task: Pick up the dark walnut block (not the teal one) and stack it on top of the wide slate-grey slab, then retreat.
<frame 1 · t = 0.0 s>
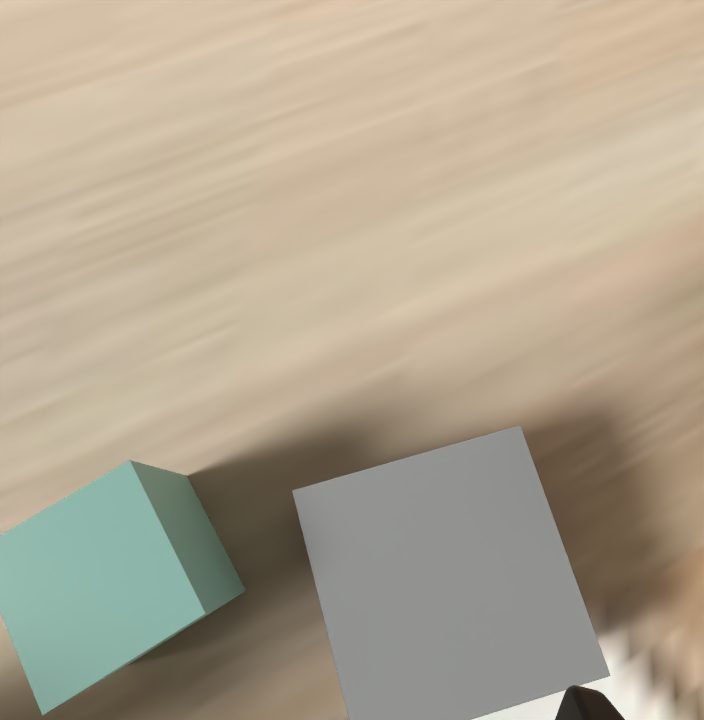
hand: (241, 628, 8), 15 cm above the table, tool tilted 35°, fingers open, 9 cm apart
grey slab: (430, 569, 23), on the table
teal block: (158, 566, 23), on the table
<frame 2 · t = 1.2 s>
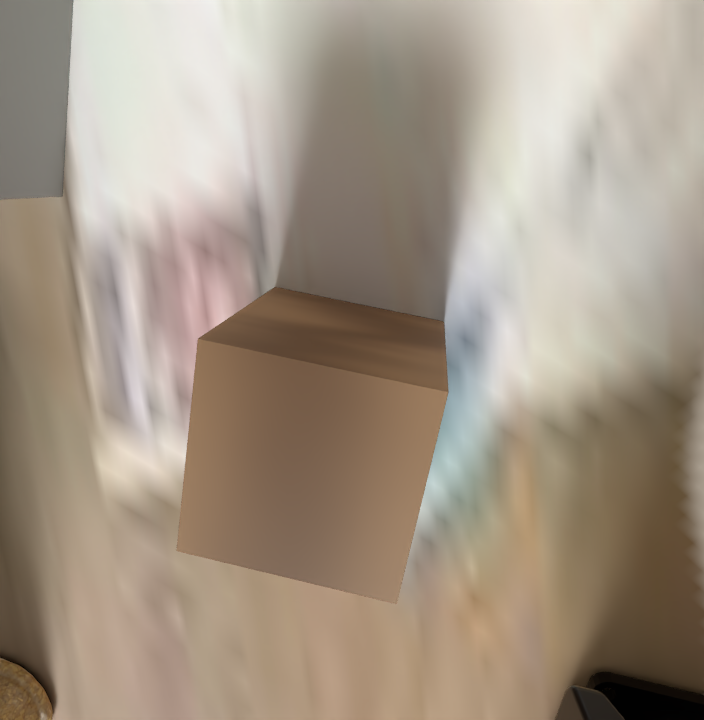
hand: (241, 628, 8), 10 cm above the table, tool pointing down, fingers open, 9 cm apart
walnut block: (344, 383, 18), on the table
sprinkles bottle: (8, 693, 24), on the table
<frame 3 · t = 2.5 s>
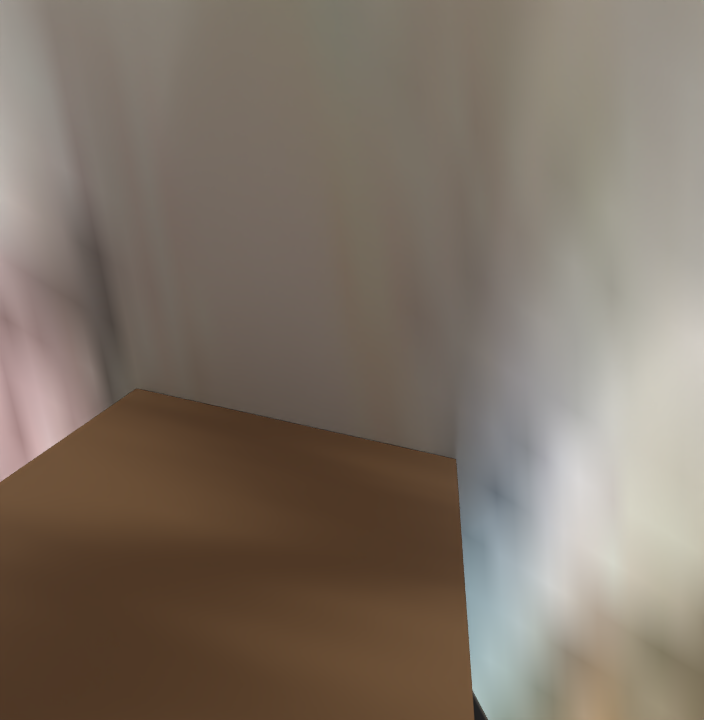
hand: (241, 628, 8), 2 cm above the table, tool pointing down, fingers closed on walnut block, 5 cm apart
walnut block: (271, 560, 10), on the table, touching gripper
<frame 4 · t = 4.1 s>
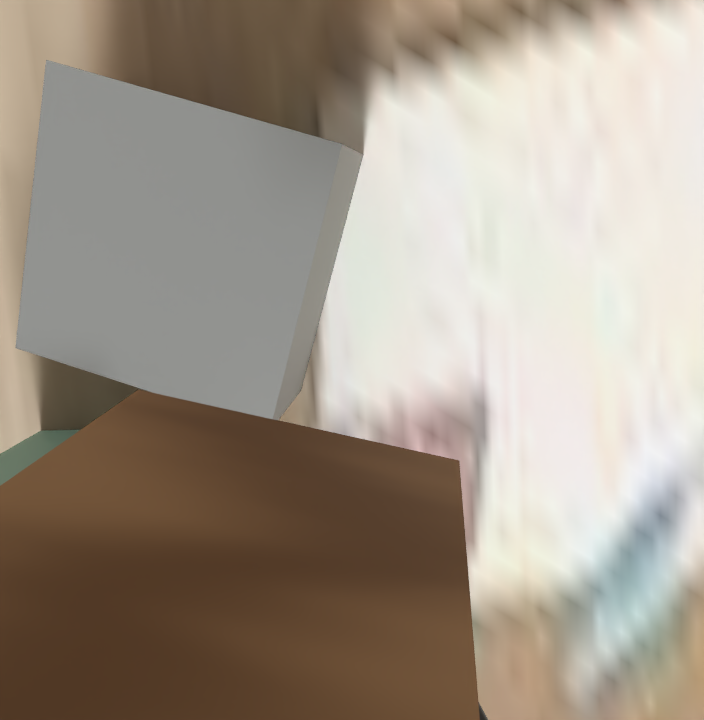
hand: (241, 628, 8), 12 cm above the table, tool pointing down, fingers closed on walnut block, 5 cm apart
grey slab: (218, 244, 20), on the table
walnut block: (273, 562, 10), point 11 cm above the table, touching gripper
teal block: (114, 489, 23), on the table
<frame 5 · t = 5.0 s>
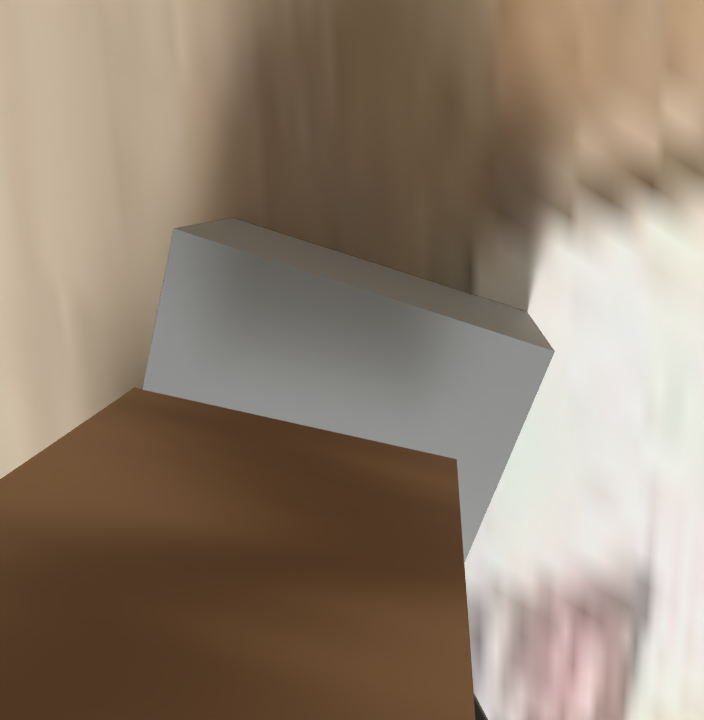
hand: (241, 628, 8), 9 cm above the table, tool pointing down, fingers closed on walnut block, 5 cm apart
grey slab: (337, 397, 17), on the table
walnut block: (270, 561, 10), point 7 cm above the table, touching gripper
when the fingers open (7 cm above the table, at t = 5.7 s): walnut block drops 2 cm, point 4 cm above the table.
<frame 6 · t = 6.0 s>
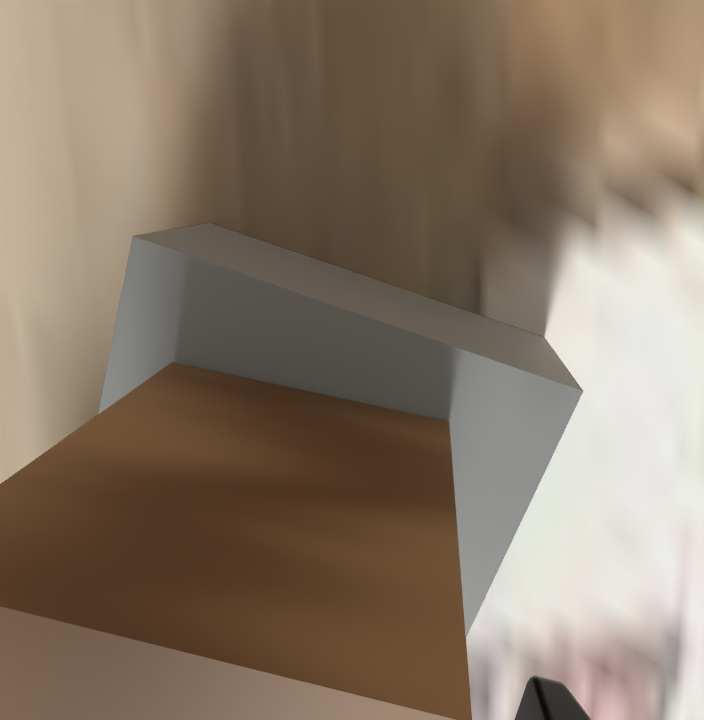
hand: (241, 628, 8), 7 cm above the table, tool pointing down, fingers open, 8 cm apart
grey slab: (326, 426, 15), on the table
walnut block: (288, 513, 11), point 4 cm above the table
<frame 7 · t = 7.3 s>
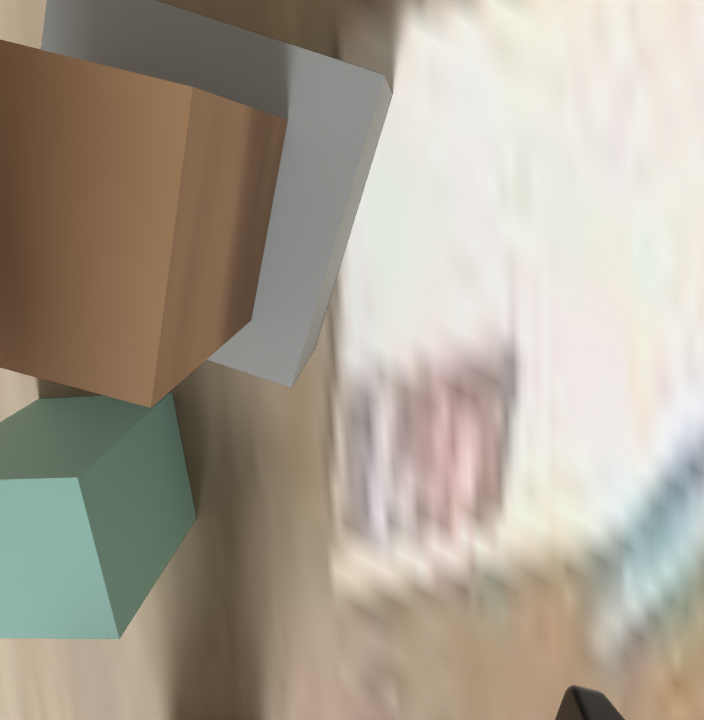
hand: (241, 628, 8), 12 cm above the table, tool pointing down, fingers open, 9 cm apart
grey slab: (230, 189, 19), on the table, touching walnut block
walnut block: (172, 201, 15), point 4 cm above the table, touching grey slab
teal block: (119, 459, 22), on the table
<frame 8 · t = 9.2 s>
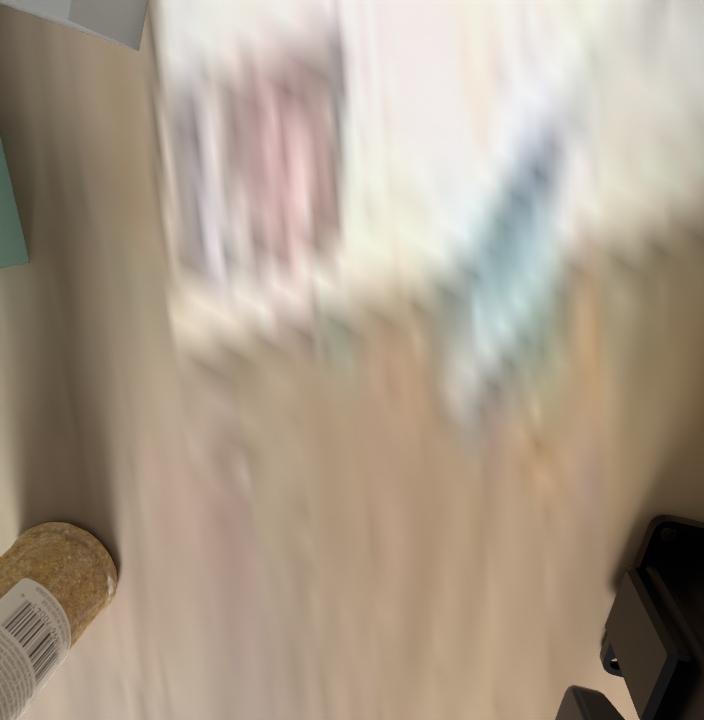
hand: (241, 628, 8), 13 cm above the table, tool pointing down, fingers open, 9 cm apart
sprinkles bottle: (73, 564, 25), on the table
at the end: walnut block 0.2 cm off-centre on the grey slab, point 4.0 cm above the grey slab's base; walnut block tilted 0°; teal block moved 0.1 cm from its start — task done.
